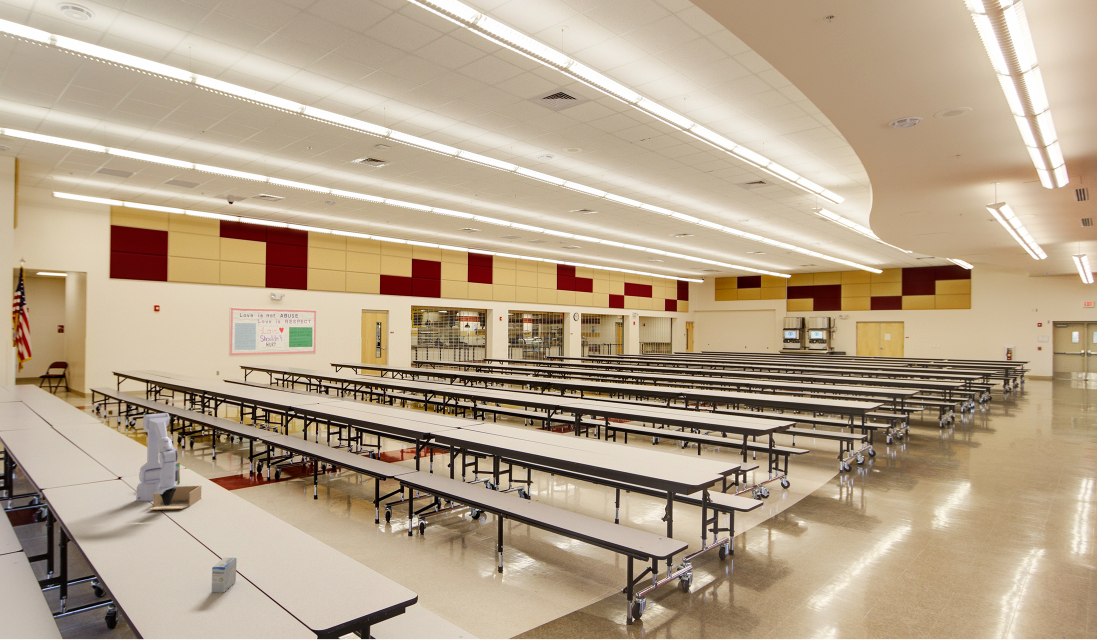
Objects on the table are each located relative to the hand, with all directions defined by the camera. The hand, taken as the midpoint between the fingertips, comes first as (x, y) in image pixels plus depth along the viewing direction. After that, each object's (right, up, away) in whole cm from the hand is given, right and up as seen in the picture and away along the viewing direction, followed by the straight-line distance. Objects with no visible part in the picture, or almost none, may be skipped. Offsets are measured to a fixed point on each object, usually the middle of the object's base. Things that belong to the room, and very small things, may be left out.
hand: (167, 505), depth 263 cm
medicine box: (+69, -4, -73) cm, 101 cm away
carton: (-2, -3, +10) cm, 11 cm away
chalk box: (-28, -3, +40) cm, 49 cm away
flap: (-1, -2, +4) cm, 5 cm away
